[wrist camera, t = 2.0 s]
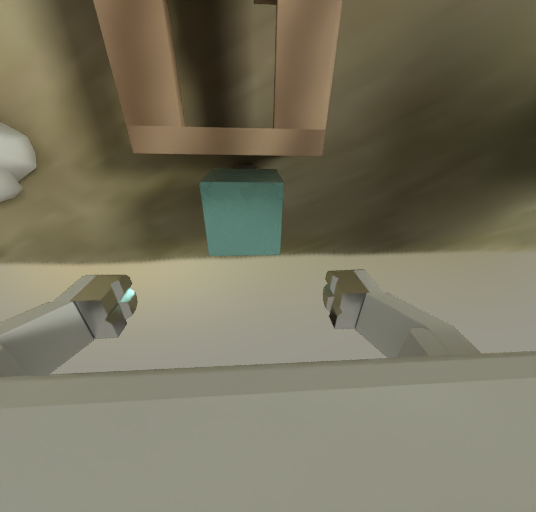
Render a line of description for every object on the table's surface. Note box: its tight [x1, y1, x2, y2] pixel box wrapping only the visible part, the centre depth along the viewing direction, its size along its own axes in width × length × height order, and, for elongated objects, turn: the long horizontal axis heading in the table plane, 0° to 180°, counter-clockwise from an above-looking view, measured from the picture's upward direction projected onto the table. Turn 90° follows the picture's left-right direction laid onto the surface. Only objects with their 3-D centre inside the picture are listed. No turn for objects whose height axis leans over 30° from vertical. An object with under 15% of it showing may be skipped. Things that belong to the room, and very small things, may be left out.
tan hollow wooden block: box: [93, 0, 343, 156], centre depth 16 cm, size 14×16×8 cm
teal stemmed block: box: [199, 164, 284, 256], centre depth 20 cm, size 5×5×12 cm
